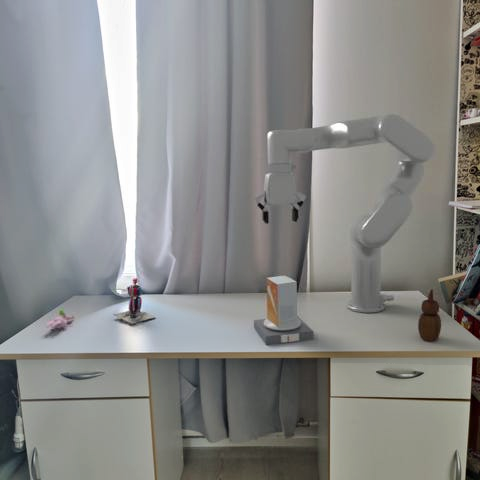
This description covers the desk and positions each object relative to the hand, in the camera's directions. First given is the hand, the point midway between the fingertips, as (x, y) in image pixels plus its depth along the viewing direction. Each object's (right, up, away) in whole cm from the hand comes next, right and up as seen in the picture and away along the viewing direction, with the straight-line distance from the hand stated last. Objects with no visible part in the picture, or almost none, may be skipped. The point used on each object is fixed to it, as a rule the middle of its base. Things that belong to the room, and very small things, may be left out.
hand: (280, 222), depth 161 cm
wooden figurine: (+40, -34, -23) cm, 57 cm away
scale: (-1, -34, -15) cm, 37 cm away
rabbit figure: (-71, -34, -4) cm, 78 cm away
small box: (-1, -30, -16) cm, 34 cm away
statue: (-48, -32, +2) cm, 58 cm away
